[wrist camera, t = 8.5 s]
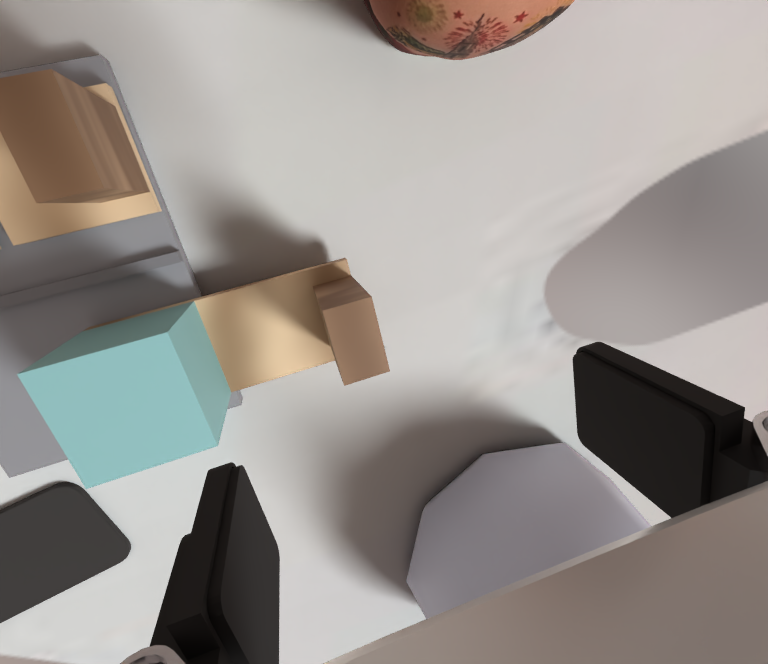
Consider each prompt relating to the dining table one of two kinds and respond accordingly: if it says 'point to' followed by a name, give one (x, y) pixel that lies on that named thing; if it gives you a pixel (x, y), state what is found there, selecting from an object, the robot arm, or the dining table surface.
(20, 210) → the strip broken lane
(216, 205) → the dining table surface
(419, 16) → the decorative planter
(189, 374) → the cube
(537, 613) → the robot arm
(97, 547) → the phone
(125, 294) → the lane board
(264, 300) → the strip cube lane
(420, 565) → the light grey vase
